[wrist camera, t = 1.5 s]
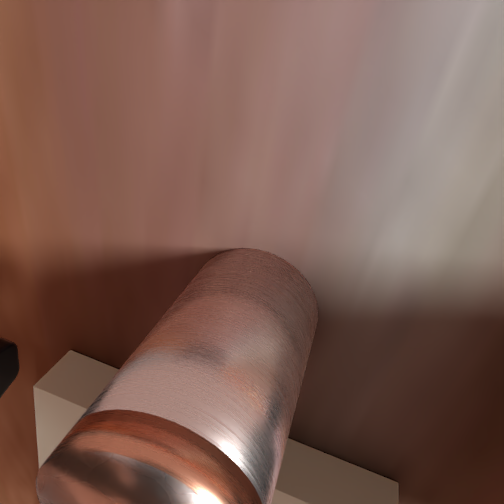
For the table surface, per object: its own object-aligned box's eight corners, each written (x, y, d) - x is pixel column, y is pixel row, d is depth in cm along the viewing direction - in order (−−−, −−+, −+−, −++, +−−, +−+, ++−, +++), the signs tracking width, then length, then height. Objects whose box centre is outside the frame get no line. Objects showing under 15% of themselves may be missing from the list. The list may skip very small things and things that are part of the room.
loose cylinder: (336, 275, 12) (279, 522, 6) (297, 375, 14) (227, 634, 8) (204, 230, 12) (30, 413, 6) (186, 332, 14) (40, 543, 8)
